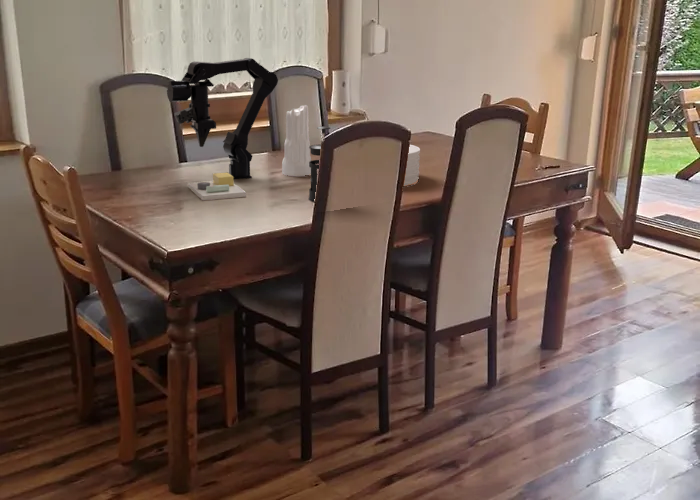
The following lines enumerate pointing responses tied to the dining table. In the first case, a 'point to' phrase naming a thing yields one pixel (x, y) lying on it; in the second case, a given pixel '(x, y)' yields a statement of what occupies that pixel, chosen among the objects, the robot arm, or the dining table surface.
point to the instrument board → (217, 195)
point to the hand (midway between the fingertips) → (201, 146)
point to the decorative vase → (297, 143)
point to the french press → (315, 166)
